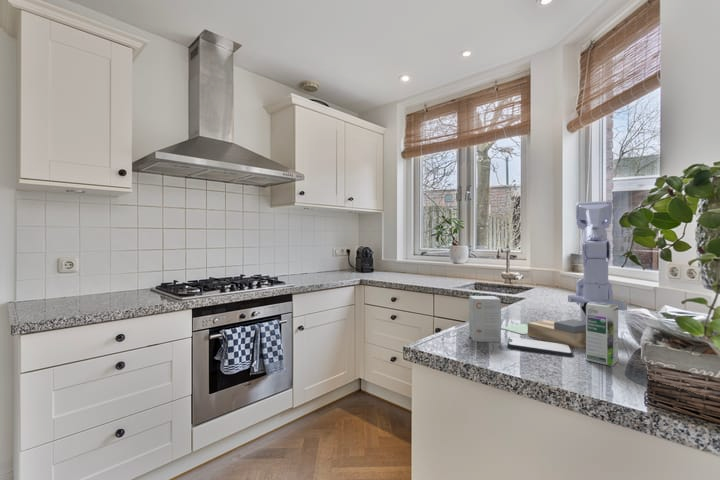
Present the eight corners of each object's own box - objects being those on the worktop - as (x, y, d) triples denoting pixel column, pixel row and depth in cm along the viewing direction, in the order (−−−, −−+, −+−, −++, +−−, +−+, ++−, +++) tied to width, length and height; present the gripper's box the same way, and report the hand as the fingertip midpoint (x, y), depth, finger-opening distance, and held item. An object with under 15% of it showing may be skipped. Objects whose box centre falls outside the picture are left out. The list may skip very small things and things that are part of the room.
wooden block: (547, 331, 113) (547, 319, 113) (595, 343, 100) (595, 330, 100) (527, 335, 109) (527, 322, 109) (575, 348, 96) (575, 334, 96)
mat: (523, 324, 123) (523, 323, 123) (546, 330, 115) (546, 329, 115) (499, 328, 117) (499, 327, 117) (522, 334, 109) (522, 333, 109)
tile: (572, 325, 106) (572, 319, 106) (592, 330, 100) (592, 323, 100) (554, 328, 102) (554, 322, 102) (574, 333, 96) (574, 326, 96)
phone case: (569, 350, 96) (508, 341, 103) (569, 344, 96) (508, 336, 103) (573, 360, 88) (507, 349, 95) (573, 353, 88) (507, 344, 95)
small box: (494, 336, 107) (494, 295, 107) (501, 342, 101) (501, 299, 101) (468, 336, 108) (468, 295, 108) (473, 341, 102) (473, 298, 102)
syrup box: (584, 360, 86) (585, 303, 86) (592, 355, 90) (592, 300, 90) (612, 367, 82) (612, 306, 82) (618, 361, 85) (619, 304, 85)
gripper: (561, 281, 100) (561, 327, 100) (617, 287, 87) (616, 340, 87) (575, 280, 103) (575, 324, 103) (631, 285, 90) (631, 336, 90)
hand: (595, 331), depth 95 cm, fingers closed
